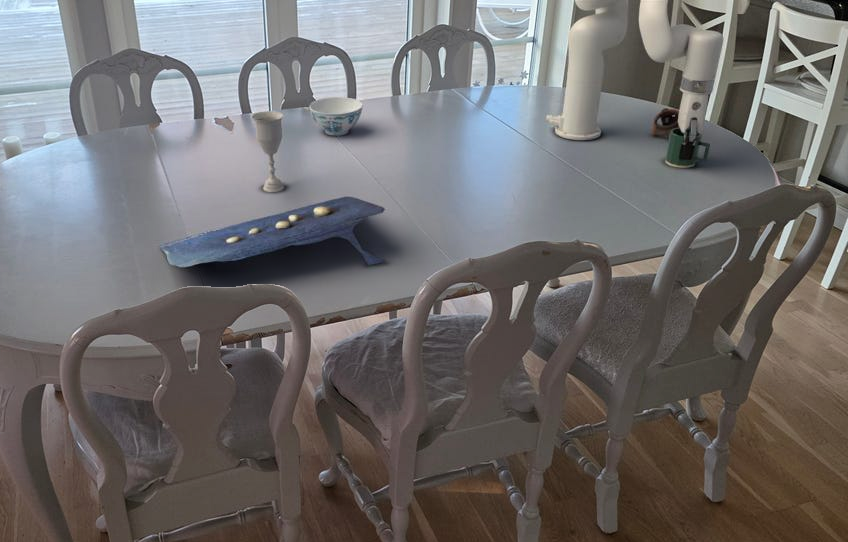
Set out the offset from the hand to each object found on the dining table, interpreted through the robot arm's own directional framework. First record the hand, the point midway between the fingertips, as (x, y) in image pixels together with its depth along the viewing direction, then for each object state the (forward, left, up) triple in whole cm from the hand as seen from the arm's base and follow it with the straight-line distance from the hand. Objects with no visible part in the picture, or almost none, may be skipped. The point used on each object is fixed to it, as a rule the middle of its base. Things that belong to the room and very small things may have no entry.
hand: (682, 153), depth 200 cm
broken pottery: (-4, +21, -3) cm, 22 cm away
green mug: (+1, 0, -3) cm, 3 cm away
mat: (-77, -78, -3) cm, 110 cm away
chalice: (-92, -49, -3) cm, 104 cm away
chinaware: (-93, -7, -3) cm, 94 cm away
